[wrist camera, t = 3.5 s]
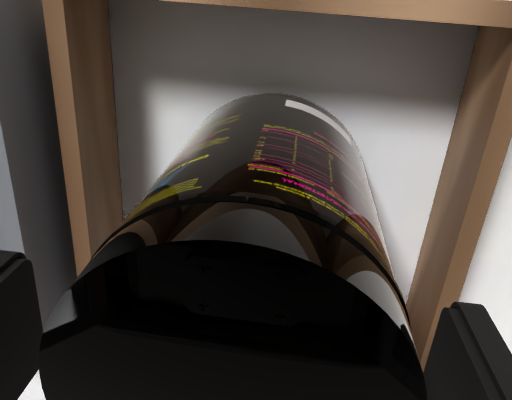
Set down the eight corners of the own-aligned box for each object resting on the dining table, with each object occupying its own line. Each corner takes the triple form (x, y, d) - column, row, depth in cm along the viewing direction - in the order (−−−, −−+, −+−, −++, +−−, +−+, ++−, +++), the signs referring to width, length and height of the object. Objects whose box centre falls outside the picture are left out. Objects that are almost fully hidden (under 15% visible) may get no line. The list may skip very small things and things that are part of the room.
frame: (507, 0, 14) (553, 4, 11) (413, 334, 20) (429, 390, 17) (87, -31, 15) (37, -34, 12) (115, 296, 21) (85, 343, 18)
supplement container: (163, 212, 18) (8, 449, 9) (223, 53, 15) (85, 162, 6) (313, 277, 19) (314, 564, 10) (399, 135, 16) (521, 351, 7)
